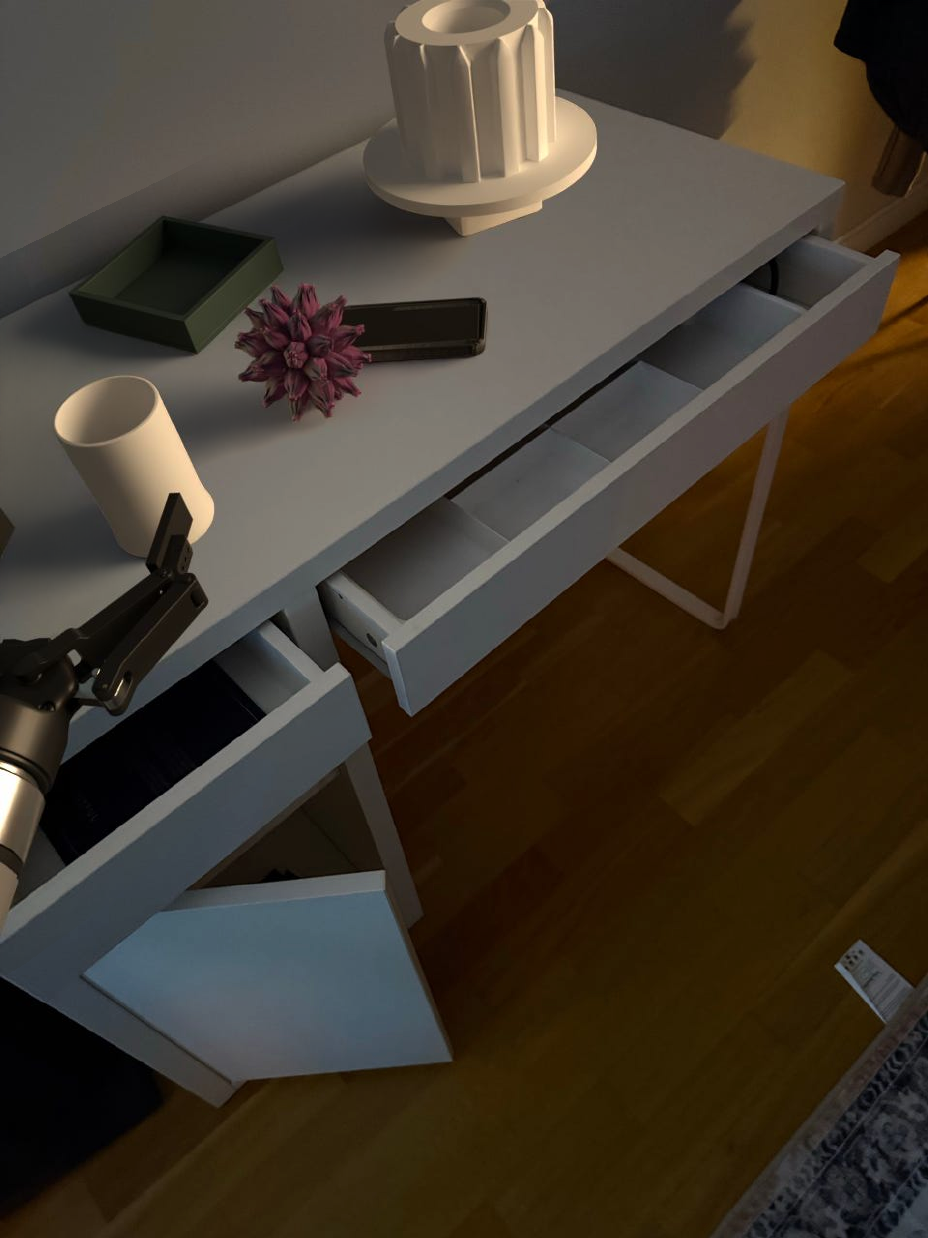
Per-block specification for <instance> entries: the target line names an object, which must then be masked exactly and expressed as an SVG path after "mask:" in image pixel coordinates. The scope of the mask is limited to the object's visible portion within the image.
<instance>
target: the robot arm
mask: <svg viewBox="0 0 928 1238" xmlns="http://www.w3.org/2000/svg"><path fill="white" fill-rule="evenodd" d="M192 522H193V518H192V516H191V514H190V512H189V510H188V508H187V506H186V504H185V502H184V500H183V498H182V496H181V494H180V492H179V493H169V495H168V498H167V501H166V504H165V507H164V510H163V513H162V516H161V519H160V522H159V525H158V528H157V531H156V533H155V536H154V539H153V542H152V545H151V548H150V551H149V554H148V557H147V558H146V560H145V563H144V565H145V567H146V569H147V571H148V572H149V574H148V575H147V576H145V577H144V578H143V579H142V580H140V581H139V582H138V583H136V584H135V585H134V586H132V587H131V588H129V589H128V590H127V591H126V592H124V593H123V594H122V595H120V596H119V597H117V598H116V599H115V600H113V601H112V602H111V603H109V604H108V605H107V606H106V607H104V608H103V609H102V610H100V611H99V612H97V613H96V614H95V615H94V616H92V617H91V618H90V619H88V620H87V621H86V622H84V623H83V624H82V625H80V626H79V627H77V628H75V627H69V628H67V629H64V630H63V631H62V632H61V633H59V634H58V635H57V636H56V637H54V638H53V639H51V637H36V638H32V639H29V640H21V639H17V638H3V639H2V641H1V643H0V936H1V935H2V932H3V929H4V926H5V923H6V920H7V917H8V914H9V911H10V908H11V905H12V902H13V900H14V896H15V893H16V890H17V887H18V885H19V879H20V877H21V873H22V871H23V869H24V866H25V864H26V861H27V858H28V855H29V851H30V849H31V846H32V843H33V840H34V839H35V835H36V832H37V829H38V827H39V823H40V820H41V818H42V815H43V812H44V810H45V805H46V799H45V796H46V795H47V794H49V793H50V792H51V790H52V789H53V786H54V783H55V780H56V777H57V774H58V772H59V770H60V766H61V763H62V761H63V757H64V756H65V752H66V749H67V747H68V741H69V740H68V739H69V728H70V724H71V720H72V719H73V718H74V716H75V715H76V713H78V711H80V709H81V708H82V707H83V706H85V707H95V708H103V709H105V710H106V712H107V713H108V715H110V716H111V717H119V716H122V715H123V714H125V713H126V712H127V710H128V708H129V706H130V704H131V702H132V699H133V697H134V695H135V692H136V691H137V688H138V686H139V685H140V683H142V681H144V679H145V678H146V677H147V675H148V674H149V673H150V672H151V671H152V670H153V669H154V668H155V666H156V665H157V664H158V663H159V662H160V660H162V658H163V657H164V656H165V655H166V654H167V652H168V651H169V650H170V649H171V648H172V647H173V646H174V645H175V643H176V642H177V641H178V640H179V639H180V638H181V636H182V635H183V634H184V633H185V632H186V631H187V629H188V628H189V627H190V626H191V625H192V624H193V623H194V622H195V620H196V619H197V618H198V617H199V616H200V614H201V613H202V612H203V611H204V610H205V608H206V607H207V606H208V605H209V598H208V597H207V595H206V592H205V590H204V588H203V587H202V585H201V583H200V581H199V579H198V578H197V575H195V573H193V572H189V569H190V566H191V563H192V559H193V555H194V551H193V547H192V545H190V543H189V541H188V539H187V538H188V535H189V532H190V528H191V525H192ZM15 529H16V527H15V526H14V524H13V523H12V521H11V519H10V518H9V517H8V515H7V514H6V513H5V511H3V509H2V507H0V560H1V559H2V557H3V555H4V552H5V551H6V548H7V546H8V544H9V542H10V539H11V537H12V536H13V534H14V531H15ZM74 650H75V652H76V653H77V654H78V656H79V657H80V661H79V662H78V663H77V664H76V665H75V664H74V662H73V660H72V658H71V657H70V656H69V653H71V652H72V651H74Z"/></svg>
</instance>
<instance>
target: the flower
mask: <svg viewBox="0 0 928 1238" xmlns="http://www.w3.org/2000/svg"><path fill="white" fill-rule="evenodd" d="M297 285H298V286H297V292H296V293H295V295H294V296H293V298H292V299H290V298H289V296H287V295H286V294H284V293H283V292H282V291H281V290H280V288H279V286H278V285H277V284H274V285H272V286H269V290H270V294H271V300H270V302H269V300H267V298H265V297H262V298H258V302H257V303H258V305H259V306H260V308H261V310H262V311H256V310H253V309H251V308H250V307H248V306H247V307H245V309H244V311H243V313H244V314H245V316H247V317H248V318H249V320H250V322H251V324H252V328H251V329H250V331H247V332H242V331H238V334H237V338H236V340H235V341H234V344H233V346H234V348H233V349H236V350H241V351H243V352H244V353H246V354H247V355H248V356H250V357H251V358H255V359H253V360H252V361H251V362H250V363H249V364H248V366H247V368H246V369H245V370H244V371H243V372H241V373H239V374H238V375H237V379H238V381H241V382H242V383H247V382H255V383H264V382H266V383H265V390H264V395H263V397H262V398H261V400H260V403H261V405H263V406H264V409H268V408H269V407H271V406H272V405H273V403H276V402H278V401H280V400H282V399H283V398H285V396H286V401H287V405H288V406H289V409H290V411H291V421H292V422H296V421H297V422H299V421H301V417H302V416H303V414H304V411H305V410H306V408H307V407H308V405H309V403H311V404H312V405H313V406H314V407H315V408H316V409H317V410H318V411H320V412H321V413H322V415H323V417H324V419H327V420H328V418H332V417H333V413H332V410H333V409H335V402H334V400H335V401H338V402H339V401H342V400H343V398H344V397H345V395H344V394H348V395H350V396H352V397H354V398H356V399H357V398H358V397H359V395H361V394H362V391H361V390H360V389H359V388H358V387H357V386H356V385H355V384H354V382H353V380H352V378H357V376H358V375H359V370H363V368H364V363H371V362H372V361H371V354H366V353H363V352H362V351H360V350H359V349H357V348H355V347H353V346H350V345H351V344H352V343H353V342H354V340H355V339H356V338H357V336H359V335H361V333H363V332H364V328H363V327H364V325H358V326H348V325H342V326H339V324H340V322H341V320H342V314H343V308H344V306H346V304H347V303H348V299H347V298H345V297H344V295H342V294H341V295H339V296H338V297H337V299H336V300H334V301H331V302H328V303H326V304H324V305H322V306H321V307H320V302H319V298H318V297H317V294H316V285H315V283H312V284H310V283H307V282H306V283H302V282H300V283H299V284H297Z"/></svg>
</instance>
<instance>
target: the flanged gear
mask: <svg viewBox="0 0 928 1238" xmlns="http://www.w3.org/2000/svg"><path fill="white" fill-rule="evenodd" d="M553 19H554V18H553V15H552V13H551V11H549V10H548V8H547V7H546V4H545V2H544V0H417V1H416V2H414V3H412V4H411V5H409V4H405V5H404V6H402V8H401V9H400V10H399V13H398V16H397V17H396V20H390V21H388V23H387V24H386V27H385V30H384V33H383V43H384V49H385V56H386V61H387V62H386V63H387V68H388V74H389V75H388V76H389V80H390V87H391V93H392V98H393V105H394V110H395V117H393V118H392V119H390V120H388V121H387V122H386V123H385V124H383V125H382V126H381V127H380V128H379V129H378V130H377V131H376V132H375V133H374V134H373V135H372V136H371V137H370V139H369V140H368V142H367V144H366V145H365V148H364V150H363V153H362V165H363V171H364V175H365V179H366V183H367V184H368V187H369V189H371V191H372V192H373V193H374V194H375V195H376V196H377V197H378V198H380V199H381V200H383V201H384V202H386V203H387V204H390V205H391V206H394V207H396V208H398V209H400V210H404V211H406V212H411V213H413V214H414V213H415V214H419V215H424V216H431V217H440V218H441V217H442V218H443V219H445V221H446V222H447V223H448V224H449V225H450V227H452V228H453V229H454V231H455V232H456V233H457V234H458V235H460V236H462V237H469V236H472V235H474V234H475V235H476V234H477V233H481V232H483V231H487V230H489V229H492V228H494V227H498V226H500V225H503V224H507V223H509V222H512V221H514V220H518V219H521V218H523V217H526V216H528V215H531V214H534V213H537V212H539V211H540V210H542V209H543V201H545V200H547V199H549V198H552V197H554V196H556V195H558V194H560V193H561V192H563V191H564V190H566V189H569V187H571V186H572V185H574V184H575V183H576V182H578V181H579V180H580V179H581V178H582V177H583V176H584V175H585V174H586V173H587V171H588V170H589V169H590V168H591V166H592V164H593V162H594V161H595V158H596V155H597V149H598V148H597V147H598V143H597V142H598V141H597V140H598V134H597V127H596V125H595V122H594V120H593V118H592V117H591V116H590V115H589V114H588V113H587V112H586V110H584V109H583V108H581V107H580V106H578V105H577V104H576V103H573V102H572V101H570V100H567V99H565V98H562V97H559V96H556V87H555V86H556V85H555V50H554V47H555V45H554V20H553Z"/></svg>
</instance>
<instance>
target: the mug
mask: <svg viewBox="0 0 928 1238" xmlns="http://www.w3.org/2000/svg"><path fill="white" fill-rule="evenodd" d="M51 428H52V432H53V434H54V436H55V437H56V439H57V441H58V442H59V445H61V448H62V449H63V451H64V452H65V454H66V455H67V457H68V460H70V462H71V464H72V465H73V467H74V469H75V470H76V472H77V474H78V475H79V477H80V479H81V480H82V482H83V483H84V485H85V487H86V488H87V490H88V491H89V493H90V495H91V496H92V498H93V500H94V501H95V503H96V504H97V506H98V508H99V509H100V511H101V513H102V514H103V516H104V517H105V519H106V520H107V522H108V524H109V526H110V528H111V530H112V532H113V535H114V539H115V541H116V543H117V544H118V546H119V547H120V548H121V549H122V550H123V551H124V552H126V553H127V554H130V555H132V556H135V557H138V558H144V559H145V558H146V559H147V557H148V554H149V551H150V548H151V545H152V542H153V539H154V536H155V533H156V531H157V528H158V525H159V522H160V519H161V516H162V513H163V510H164V507H165V504H166V501H167V498H168V495H169V493H179V492H180V494H181V496H182V498H183V500H184V502H185V504H186V506H187V508H188V510H189V512H190V514H191V516H192V518H193V522H192V525H191V528H190V532H189V535H188V538H187V539H188V541H189V543H190V545H191V546H192V545H193V544H194V543H196V542H197V541H199V539H200V538H202V536H203V535H204V534H205V533H206V532H207V531H208V529H209V527H210V526H211V524H212V522H213V520H214V517H215V504H214V500H213V498H212V496H211V495H210V493H209V492H208V491H207V489H205V487H204V486H203V484H202V482H201V480H200V478H199V475H198V473H197V471H196V469H195V468H194V465H193V463H192V460H191V458H190V456H189V453H188V452H187V450H186V448H185V445H184V444H183V441H182V439H181V437H180V435H179V432H178V431H177V429H176V426H175V424H174V423H173V420H172V418H171V416H170V414H169V412H168V410H167V407H166V406H165V404H164V401H163V399H162V397H161V395H160V392H159V391H158V389H157V388H156V386H155V385H154V384H153V383H152V382H151V381H150V380H147V379H146V378H143V377H140V376H135V375H113V376H109V377H104V378H101V379H97V380H94V381H91V382H90V383H87V384H85V385H83V386H82V387H79V388H78V389H77V390H75V391H73V392H72V393H71V394H69V395H68V396H67V397H65V399H63V401H62V402H61V403H60V405H59V406H58V407H57V408H56V410H55V412H54V414H53V417H52V420H51Z"/></svg>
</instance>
